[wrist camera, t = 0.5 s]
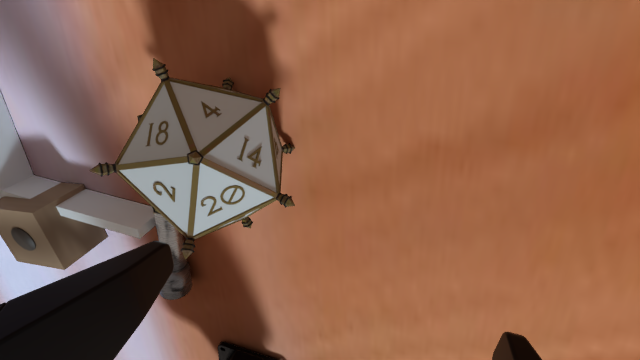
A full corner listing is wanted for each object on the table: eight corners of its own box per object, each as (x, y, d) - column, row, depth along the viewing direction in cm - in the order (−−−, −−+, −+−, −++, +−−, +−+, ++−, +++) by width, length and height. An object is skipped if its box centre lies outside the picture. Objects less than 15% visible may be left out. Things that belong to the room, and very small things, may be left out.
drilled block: (107, 236, 29) (63, 270, 26) (63, 230, 30) (15, 261, 27) (83, 184, 27) (31, 213, 23) (36, 180, 28) (-20, 207, 25)
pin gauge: (198, 280, 28) (179, 303, 26) (172, 272, 29) (152, 294, 27) (186, 198, 24) (163, 218, 22) (156, 191, 25) (132, 209, 23)
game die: (281, 82, 22) (303, 25, 12) (297, 212, 23) (330, 254, 13) (132, 95, 20) (24, 40, 11) (155, 234, 21) (73, 299, 12)
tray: (164, 218, 26) (140, 238, 24) (29, 181, 28) (-4, 197, 26) (114, -50, 17) (69, -54, 15) (-72, -66, 20) (-131, -72, 18)
